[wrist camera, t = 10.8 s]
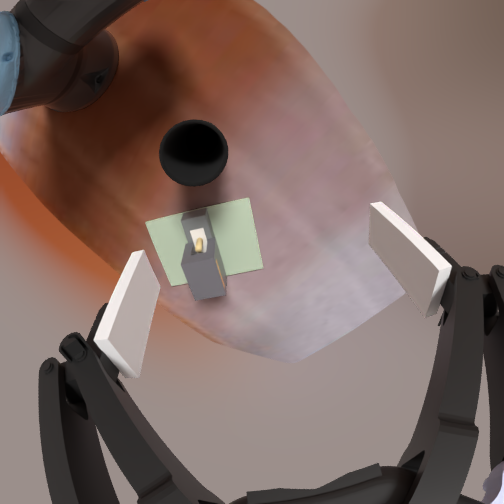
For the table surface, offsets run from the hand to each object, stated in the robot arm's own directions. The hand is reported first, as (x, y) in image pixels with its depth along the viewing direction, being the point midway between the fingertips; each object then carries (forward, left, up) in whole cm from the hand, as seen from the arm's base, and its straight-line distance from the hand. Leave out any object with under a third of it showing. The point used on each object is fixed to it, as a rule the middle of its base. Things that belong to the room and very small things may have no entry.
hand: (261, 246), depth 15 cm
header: (+15, -9, -29) cm, 34 cm away
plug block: (+16, -9, -25) cm, 31 cm away
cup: (-3, -5, -29) cm, 29 cm away
